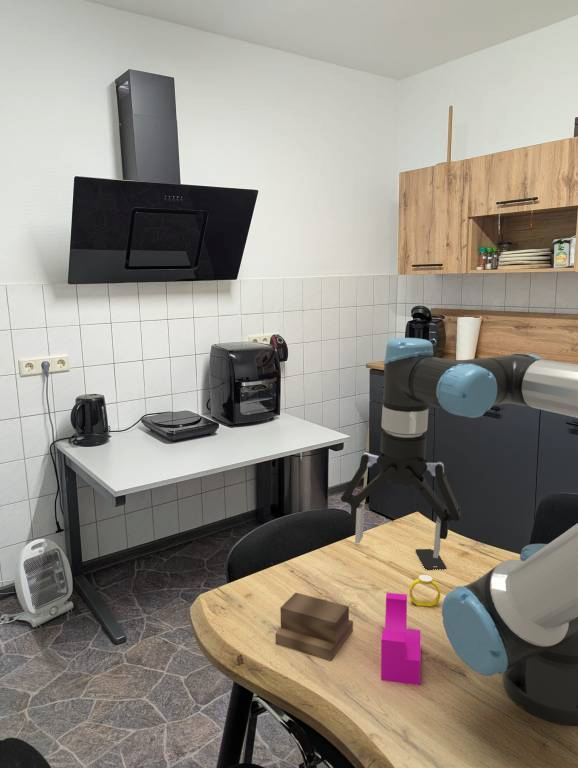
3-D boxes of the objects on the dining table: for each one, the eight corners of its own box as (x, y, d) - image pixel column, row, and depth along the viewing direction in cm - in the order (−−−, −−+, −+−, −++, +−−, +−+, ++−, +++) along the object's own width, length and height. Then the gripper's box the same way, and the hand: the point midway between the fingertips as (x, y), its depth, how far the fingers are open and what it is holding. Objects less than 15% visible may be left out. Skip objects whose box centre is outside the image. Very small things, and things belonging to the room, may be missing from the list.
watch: (438, 603, 119) (441, 576, 118) (439, 611, 116) (442, 583, 115) (408, 599, 120) (411, 572, 119) (408, 606, 118) (411, 579, 116)
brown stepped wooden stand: (352, 630, 110) (352, 601, 109) (331, 660, 101) (331, 628, 100) (300, 616, 115) (300, 587, 114) (275, 643, 106) (275, 613, 105)
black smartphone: (435, 548, 142) (447, 568, 133) (435, 551, 143) (447, 571, 133) (415, 549, 142) (425, 568, 133) (415, 551, 142) (425, 571, 133)
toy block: (420, 686, 95) (420, 644, 93) (381, 681, 96) (381, 639, 95) (420, 633, 109) (420, 595, 108) (386, 629, 110) (386, 592, 109)
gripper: (483, 433, 97) (472, 550, 102) (338, 416, 106) (334, 525, 110) (480, 447, 90) (469, 571, 95) (326, 428, 99) (322, 543, 103)
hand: (396, 547), depth 103 cm, fingers open, 13 cm apart
